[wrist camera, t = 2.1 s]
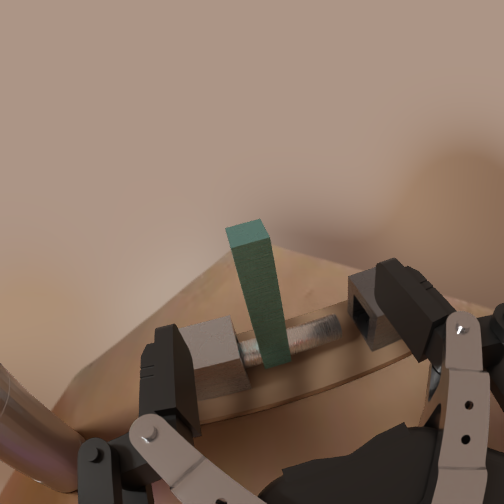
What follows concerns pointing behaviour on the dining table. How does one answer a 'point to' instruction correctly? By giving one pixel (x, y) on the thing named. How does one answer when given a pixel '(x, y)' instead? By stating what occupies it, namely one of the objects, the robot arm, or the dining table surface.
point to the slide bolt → (270, 303)
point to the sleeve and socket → (225, 340)
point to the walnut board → (304, 369)
